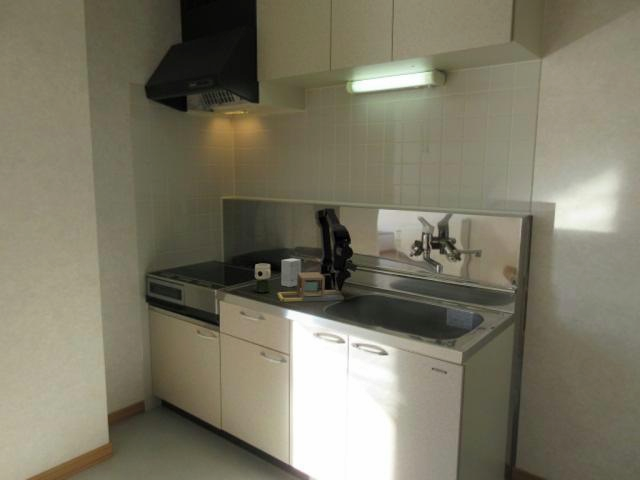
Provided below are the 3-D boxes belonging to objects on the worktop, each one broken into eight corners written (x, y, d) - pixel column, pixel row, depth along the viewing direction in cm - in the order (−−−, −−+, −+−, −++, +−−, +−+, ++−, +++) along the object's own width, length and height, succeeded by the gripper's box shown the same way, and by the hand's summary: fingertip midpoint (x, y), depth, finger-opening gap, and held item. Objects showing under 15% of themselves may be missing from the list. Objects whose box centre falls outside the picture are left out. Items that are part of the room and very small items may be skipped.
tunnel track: (277, 295, 212) (277, 273, 210) (336, 293, 218) (337, 271, 217) (281, 302, 200) (282, 278, 199) (343, 299, 207) (344, 276, 206)
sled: (299, 292, 212) (300, 278, 211) (337, 290, 216) (338, 277, 215) (303, 296, 204) (303, 282, 203) (342, 294, 209) (342, 281, 208)
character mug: (249, 291, 219) (249, 264, 218) (260, 288, 224) (261, 262, 223) (264, 295, 212) (264, 267, 210) (275, 292, 217) (276, 265, 215)
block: (303, 290, 211) (304, 279, 210) (314, 290, 212) (314, 279, 211) (306, 293, 206) (306, 282, 205) (317, 292, 207) (317, 281, 206)
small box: (292, 282, 239) (292, 257, 238) (301, 284, 235) (301, 259, 234) (280, 285, 233) (281, 259, 232) (289, 287, 229) (290, 261, 228)
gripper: (362, 258, 203) (361, 293, 205) (349, 252, 221) (348, 284, 223) (338, 259, 200) (337, 294, 202) (327, 252, 218) (326, 284, 220)
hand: (338, 289), depth 212 cm, fingers open, 6 cm apart
